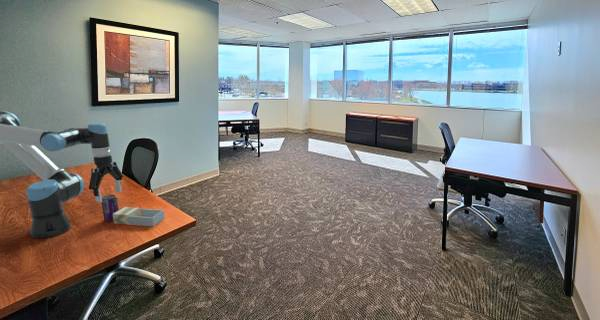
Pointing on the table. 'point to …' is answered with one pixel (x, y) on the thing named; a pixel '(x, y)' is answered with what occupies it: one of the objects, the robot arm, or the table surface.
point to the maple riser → (125, 215)
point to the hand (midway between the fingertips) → (109, 197)
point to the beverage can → (109, 206)
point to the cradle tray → (147, 217)
